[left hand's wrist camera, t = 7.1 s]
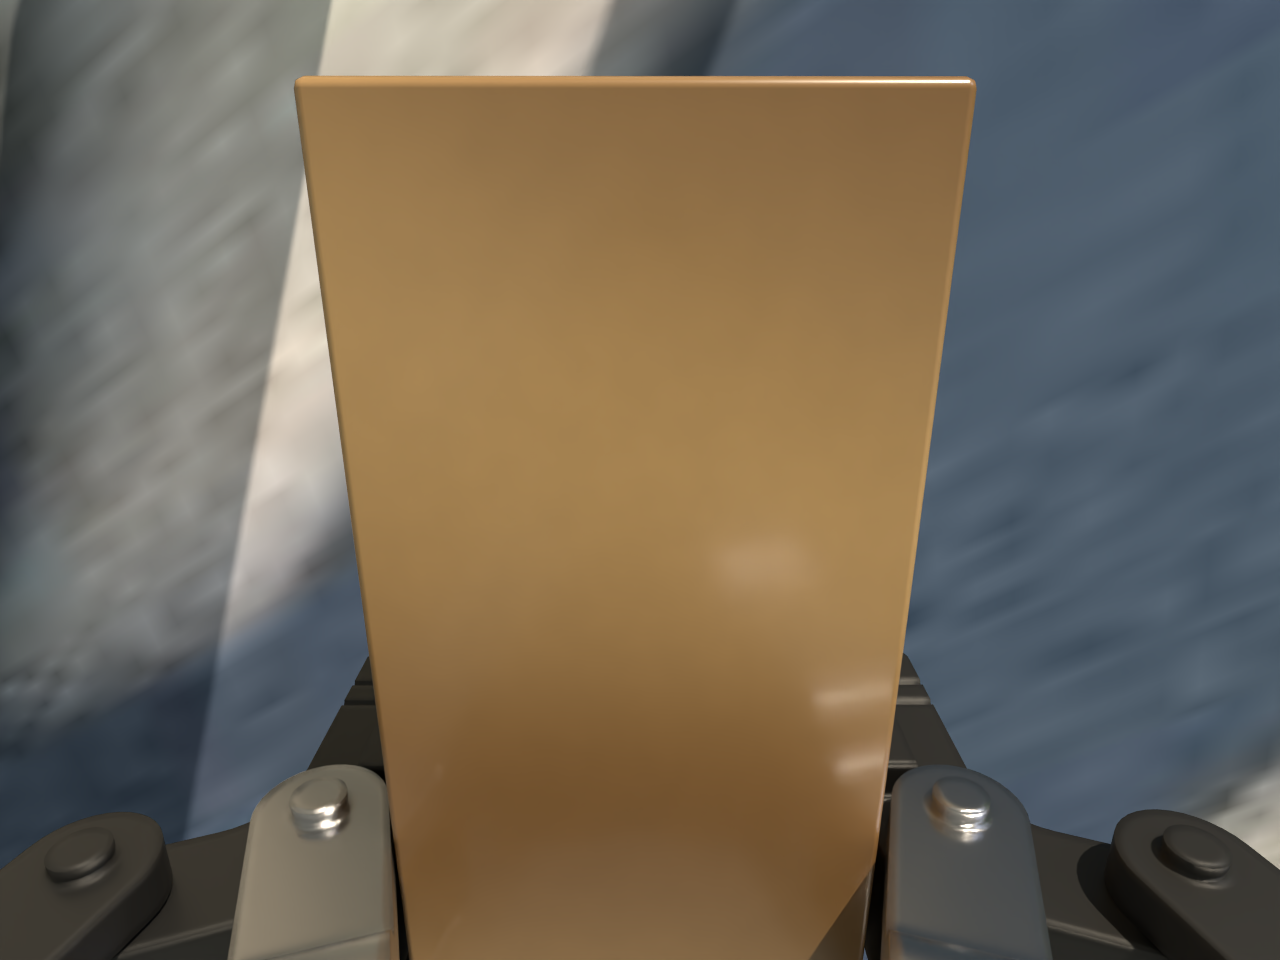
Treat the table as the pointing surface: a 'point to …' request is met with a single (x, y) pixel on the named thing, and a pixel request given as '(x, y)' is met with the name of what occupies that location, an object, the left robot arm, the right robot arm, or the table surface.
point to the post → (635, 487)
